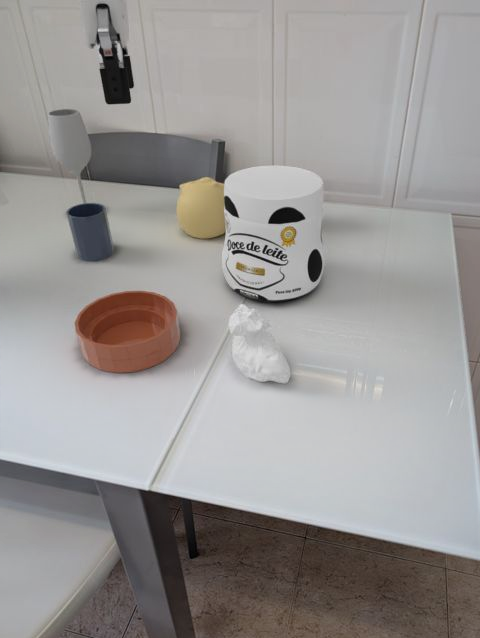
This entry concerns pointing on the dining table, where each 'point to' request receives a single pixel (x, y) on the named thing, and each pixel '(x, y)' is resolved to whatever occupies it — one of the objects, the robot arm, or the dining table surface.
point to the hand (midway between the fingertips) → (121, 95)
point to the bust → (256, 347)
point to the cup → (90, 231)
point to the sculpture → (202, 208)
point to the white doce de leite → (273, 232)
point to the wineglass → (70, 141)
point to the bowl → (128, 331)
